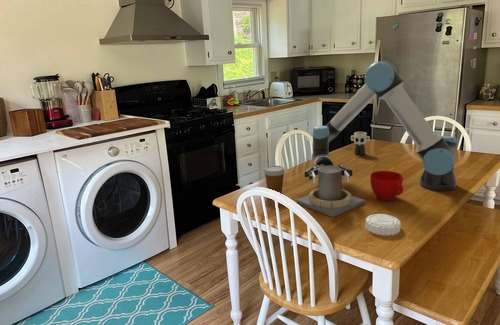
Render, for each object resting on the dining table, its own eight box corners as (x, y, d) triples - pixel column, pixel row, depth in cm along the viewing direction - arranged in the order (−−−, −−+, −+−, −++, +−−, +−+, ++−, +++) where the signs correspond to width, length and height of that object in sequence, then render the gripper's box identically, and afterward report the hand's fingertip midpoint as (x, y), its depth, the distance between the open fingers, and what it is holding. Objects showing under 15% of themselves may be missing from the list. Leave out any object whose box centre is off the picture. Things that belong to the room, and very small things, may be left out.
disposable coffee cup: (284, 197, 170) (283, 171, 167) (262, 196, 172) (261, 171, 168) (286, 189, 179) (285, 165, 175) (266, 189, 181) (265, 165, 177)
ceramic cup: (387, 208, 153) (388, 185, 151) (363, 194, 169) (364, 173, 166) (414, 203, 157) (416, 180, 154) (388, 190, 172) (390, 169, 170)
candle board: (364, 203, 160) (364, 194, 158) (332, 217, 148) (332, 207, 147) (327, 191, 175) (327, 182, 174) (296, 202, 163) (296, 194, 162)
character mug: (349, 154, 231) (350, 133, 227) (351, 151, 237) (352, 131, 233) (368, 156, 226) (369, 134, 223) (369, 152, 233) (370, 132, 229)
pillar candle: (340, 195, 165) (340, 162, 161) (343, 204, 156) (343, 169, 152) (317, 195, 166) (317, 162, 162) (318, 204, 157) (318, 169, 153)
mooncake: (392, 220, 144) (393, 211, 143) (405, 235, 132) (406, 225, 131) (360, 222, 144) (361, 213, 142) (371, 237, 132) (371, 227, 131)
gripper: (350, 171, 176) (362, 187, 156) (296, 173, 177) (300, 189, 157) (351, 155, 174) (362, 169, 154) (296, 157, 175) (300, 171, 155)
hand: (331, 179), depth 155 cm, fingers open, 13 cm apart
